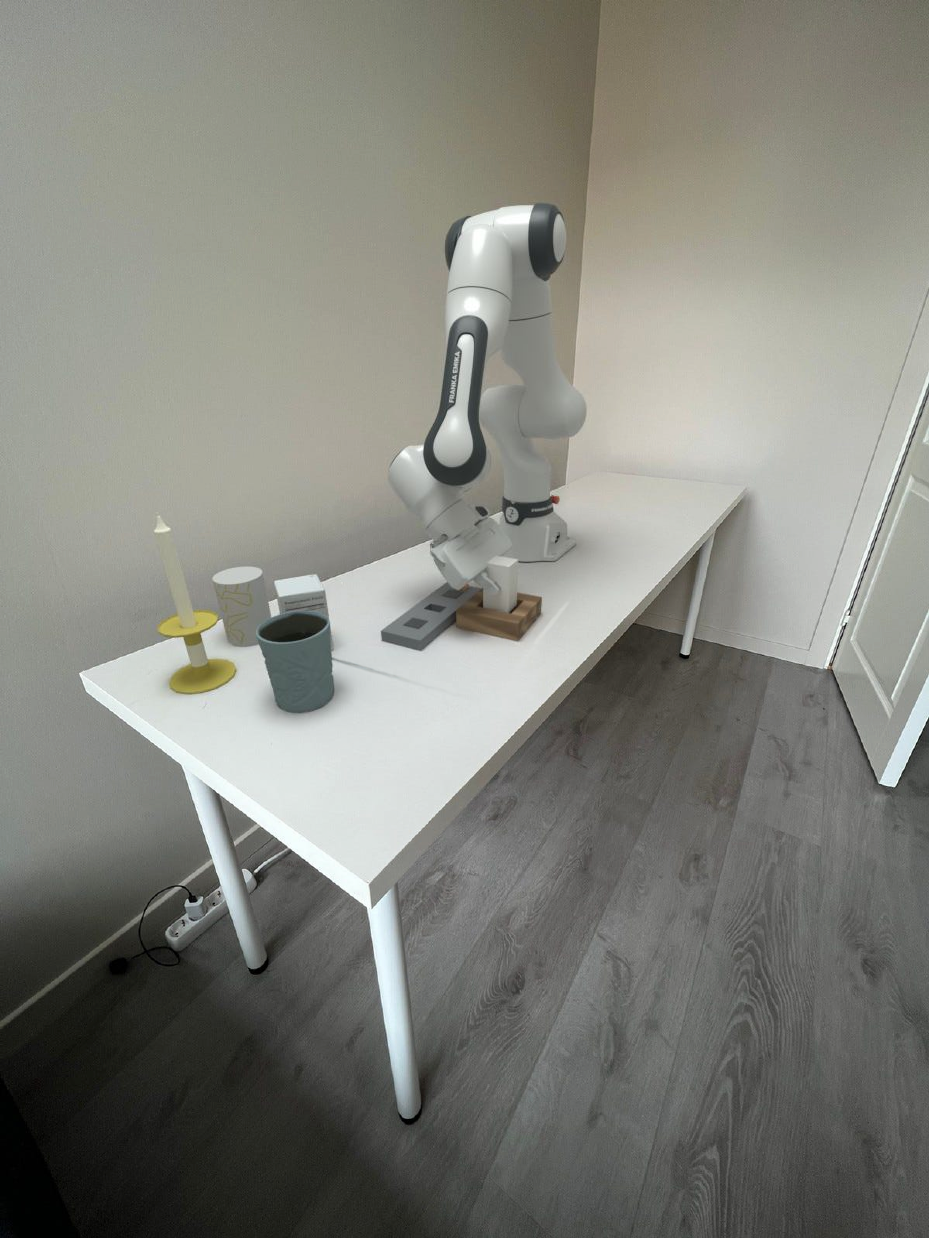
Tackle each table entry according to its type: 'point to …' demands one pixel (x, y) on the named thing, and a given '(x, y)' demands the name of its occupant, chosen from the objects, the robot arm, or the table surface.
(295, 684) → the teal plant pot
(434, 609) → the power strip
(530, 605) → the square wooden tray
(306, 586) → the supplement box
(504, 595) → the white rectangular block
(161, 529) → the candle
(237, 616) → the cup
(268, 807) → the table surface
